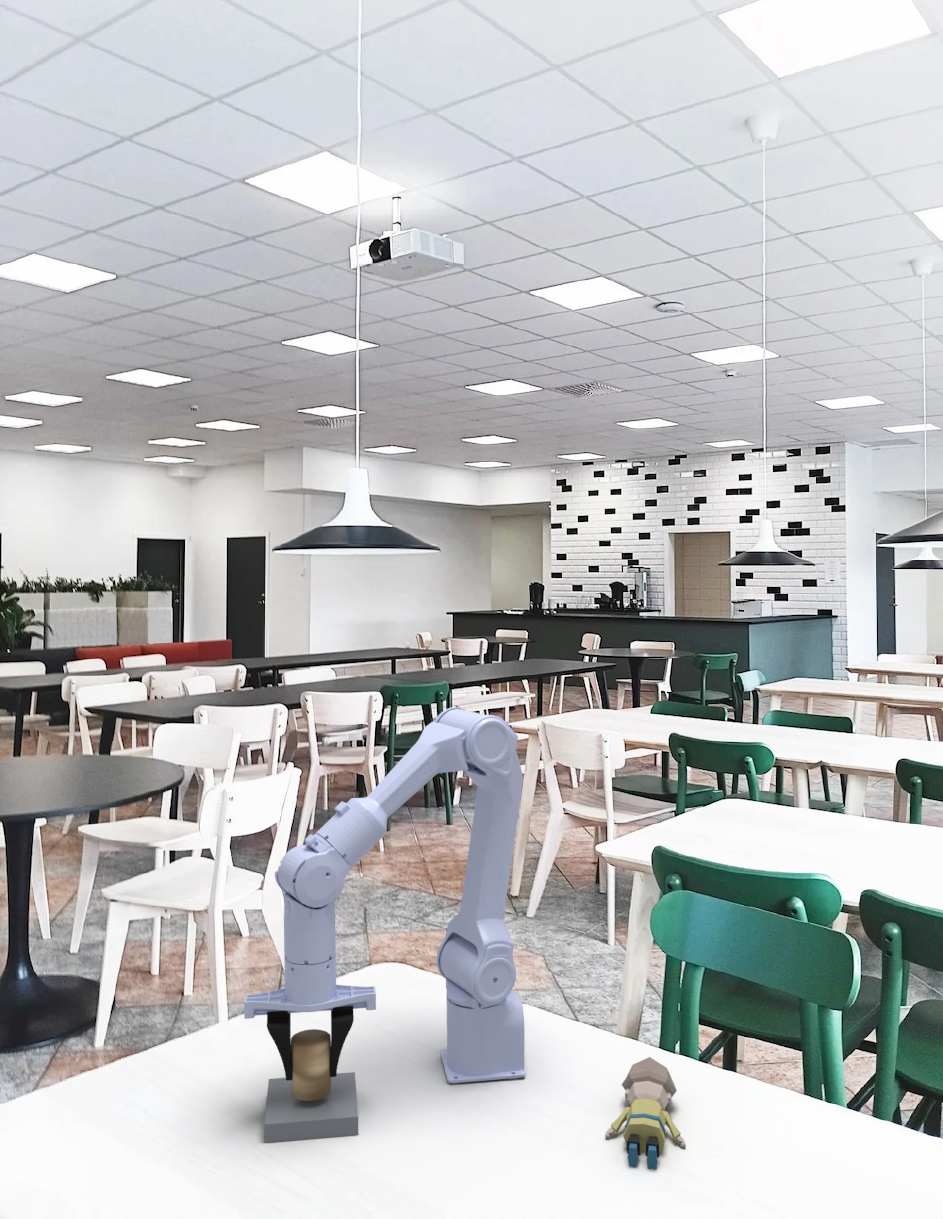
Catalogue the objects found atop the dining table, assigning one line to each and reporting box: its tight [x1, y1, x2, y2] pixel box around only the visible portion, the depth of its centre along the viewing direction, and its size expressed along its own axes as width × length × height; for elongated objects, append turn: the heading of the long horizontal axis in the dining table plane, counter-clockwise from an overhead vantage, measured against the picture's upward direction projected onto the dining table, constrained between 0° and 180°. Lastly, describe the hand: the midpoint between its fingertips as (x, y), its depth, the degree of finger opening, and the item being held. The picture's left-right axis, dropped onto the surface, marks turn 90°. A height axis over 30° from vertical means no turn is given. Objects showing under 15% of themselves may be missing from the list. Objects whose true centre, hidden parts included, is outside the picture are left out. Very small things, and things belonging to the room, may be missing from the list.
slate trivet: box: [263, 1071, 359, 1144], centre depth 115 cm, size 10×10×2 cm
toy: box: [604, 1056, 687, 1170], centre depth 112 cm, size 8×5×15 cm
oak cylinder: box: [291, 1028, 331, 1101], centre depth 115 cm, size 4×4×6 cm
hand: (311, 1074), depth 115 cm, fingers closed on oak cylinder, 4 cm apart
